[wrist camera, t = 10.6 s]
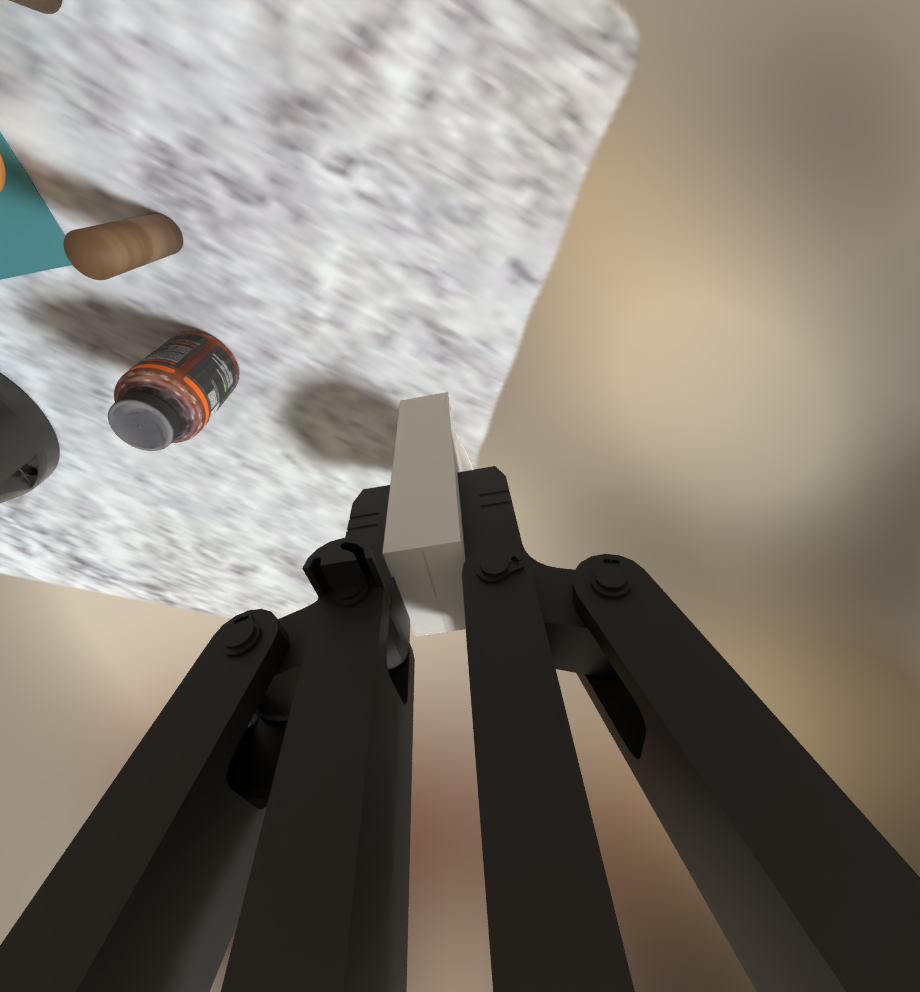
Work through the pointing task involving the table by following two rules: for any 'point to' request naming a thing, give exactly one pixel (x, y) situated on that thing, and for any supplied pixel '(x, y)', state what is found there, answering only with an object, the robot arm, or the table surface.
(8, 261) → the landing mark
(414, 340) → the table surface
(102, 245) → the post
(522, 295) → the table surface
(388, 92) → the table surface
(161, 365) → the supplement bottle
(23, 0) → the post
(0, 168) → the ball
